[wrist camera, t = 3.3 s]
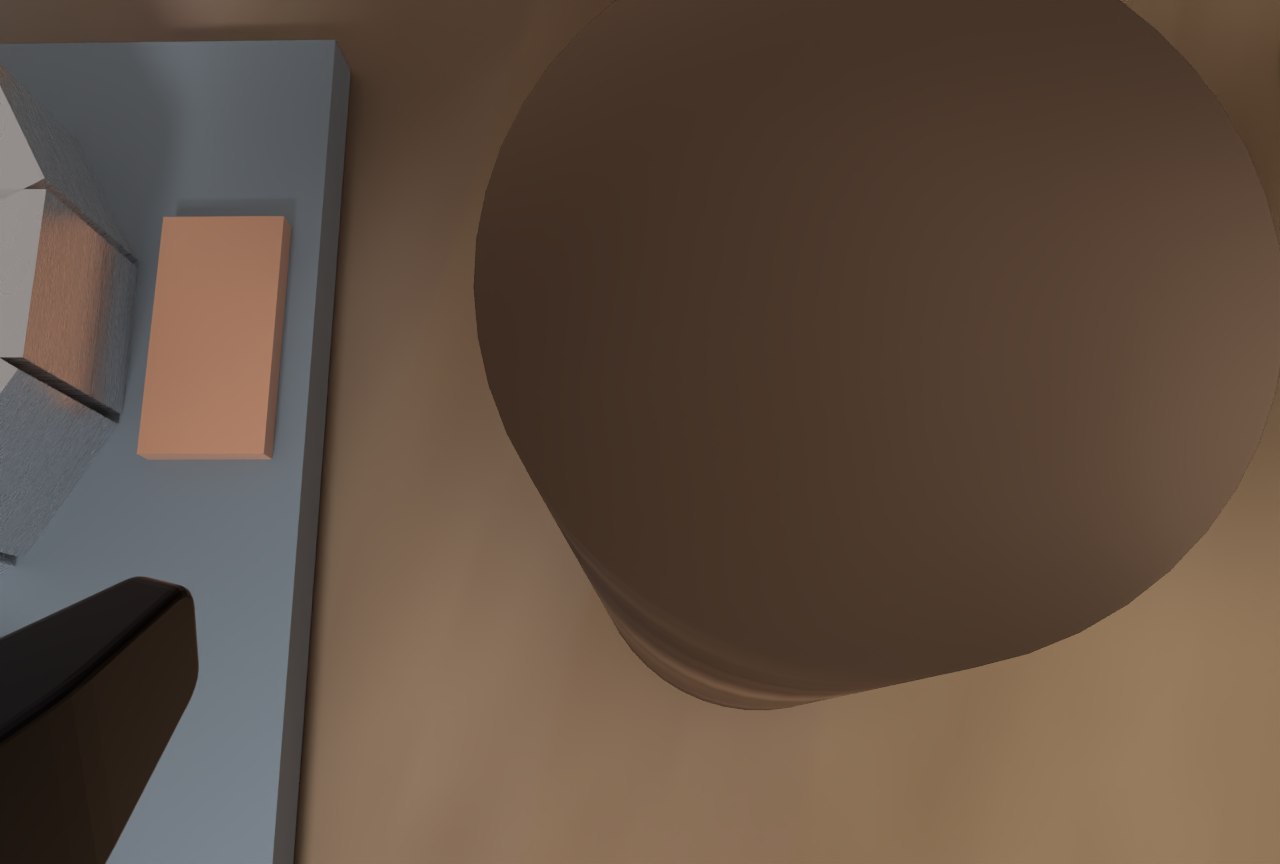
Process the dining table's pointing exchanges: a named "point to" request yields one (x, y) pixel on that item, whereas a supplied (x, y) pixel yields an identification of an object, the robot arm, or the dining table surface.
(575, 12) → the dining table surface
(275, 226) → the socket board
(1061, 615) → the walnut peg
